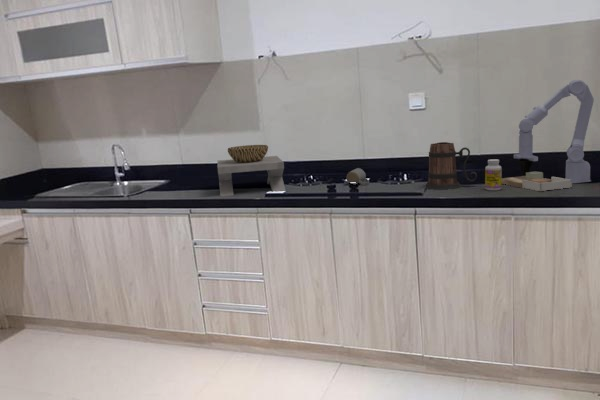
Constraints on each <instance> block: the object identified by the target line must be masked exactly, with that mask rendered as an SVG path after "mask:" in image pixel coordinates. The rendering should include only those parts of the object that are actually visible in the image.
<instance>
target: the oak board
mask: <svg viewBox="0 0 600 400" xmlns="http://www.w3.org/2000/svg"><path fill="white" fill-rule="evenodd" d="M522 180H527V181H529V180H528V179H526V176H523V175H521V176H514V177H513V176H512V177H511V176H510V177H504V178H503V177H502V184H501V185H505V184H506V185H505V186H510V185H511V186H510V187H514V186H515V188H519V187H520V189H523V188H522ZM543 180H547V182H551V178H546V177H545V178H544V177H543Z"/></svg>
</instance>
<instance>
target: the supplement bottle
mask: <svg viewBox="0 0 600 400" xmlns="http://www.w3.org/2000/svg"><path fill="white" fill-rule="evenodd" d="M499 163H500V159H495V158H494V159H488V160H487V165H486V166H485V169H484V170H485V171H484V176H485V177H484V185H485V186H484V188H485V190H487V191H499V190H501V189H502V185H503V184H502V178H503V177H502V175H503V174H502V173H503V171H502V169H503V167H502V166H501V165H500V164H499Z"/></svg>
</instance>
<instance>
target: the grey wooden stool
mask: <svg viewBox="0 0 600 400" xmlns="http://www.w3.org/2000/svg"><path fill="white" fill-rule="evenodd" d="M268 150H269V146H268V145H267V144H250V145H249V144H248V145H237V146H231V147H228V148H227V153H228V155H229V156H230V157H231V159H224V160H223V159H222V160H217V175H218V182H219V183H218V184H219V197H228V196H234V187H233V180H232V179H233V177H232V174H234V173H245V172H247V173H248V172H258V171H259V172H261V171H267V172H266V173H267V175H268V176H267V182H266V183H267V185H269V186H270V190H271V192H273V191H275V192H284V191H287V190H286V186H285V183H284V180H283V179H284V178H283V174H284V170H285V162H284V161H283V160H282V159H281V158H280V157H279V156H278V155H270V156H266V155H267V153H268Z"/></svg>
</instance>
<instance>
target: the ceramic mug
mask: <svg viewBox="0 0 600 400" xmlns="http://www.w3.org/2000/svg"><path fill="white" fill-rule="evenodd" d="M345 177H346V181H347V184H349V183H350V182H356V183H359V184H358V185H363V186H368V185H369V184H370V180H369V179H368V178H366V177H367V174H366V172H365V171H364V170H363V169H362V168H360V167H357V168H355V169H352V170H351V171H348V173H347V174H346V176H345Z"/></svg>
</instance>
